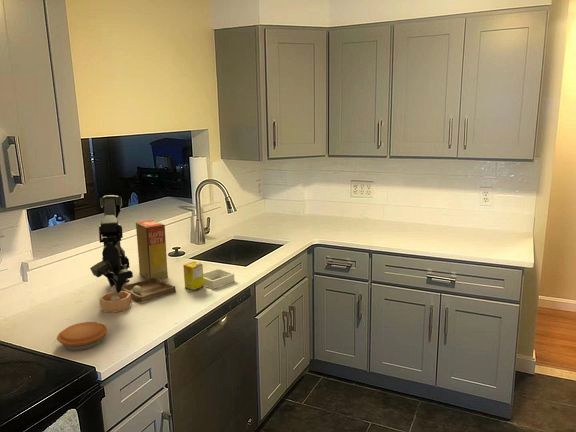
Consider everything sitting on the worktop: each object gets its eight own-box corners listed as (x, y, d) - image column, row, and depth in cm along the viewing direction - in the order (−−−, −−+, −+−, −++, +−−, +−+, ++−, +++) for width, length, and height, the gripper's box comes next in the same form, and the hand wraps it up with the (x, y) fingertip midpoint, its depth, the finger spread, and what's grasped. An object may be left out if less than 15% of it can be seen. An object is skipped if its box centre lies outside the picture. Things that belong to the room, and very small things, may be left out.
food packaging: (169, 276, 220) (165, 224, 215) (149, 281, 215) (145, 227, 209) (157, 269, 231) (153, 219, 225) (138, 273, 225) (134, 222, 219)
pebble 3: (131, 294, 198) (130, 285, 198) (139, 291, 201) (138, 283, 200) (135, 296, 196) (135, 288, 195) (143, 293, 199) (142, 285, 198)
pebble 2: (109, 305, 187) (107, 297, 187) (118, 303, 190) (116, 294, 190) (113, 306, 185) (111, 297, 184) (122, 303, 187) (120, 294, 187)
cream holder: (196, 282, 212) (196, 275, 212) (219, 275, 221) (218, 268, 221) (212, 289, 205) (212, 281, 204) (235, 281, 213) (234, 273, 213)
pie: (112, 330, 168) (111, 317, 167) (102, 351, 153) (101, 337, 152) (66, 333, 165) (64, 320, 164) (51, 356, 150) (49, 341, 149)
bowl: (96, 307, 187) (95, 296, 186) (122, 299, 195) (121, 288, 194) (109, 315, 180) (108, 304, 179) (136, 306, 188) (135, 295, 187)
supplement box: (195, 284, 210) (193, 261, 208) (204, 287, 206) (202, 263, 204) (184, 288, 206) (182, 264, 203) (193, 291, 202) (192, 267, 199)
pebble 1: (109, 293, 188) (109, 285, 187) (118, 291, 190) (117, 282, 189) (114, 295, 185) (113, 287, 184) (122, 293, 188) (122, 284, 187)
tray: (120, 292, 202) (119, 287, 202) (154, 282, 214) (153, 277, 213) (141, 303, 191) (140, 297, 190) (175, 291, 202) (175, 286, 201)
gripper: (81, 253, 185) (85, 291, 188) (103, 263, 172) (107, 303, 176) (108, 247, 193) (112, 283, 196) (131, 256, 180) (135, 295, 183)
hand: (116, 291), depth 188 cm, fingers closed on pebble 1, 4 cm apart
